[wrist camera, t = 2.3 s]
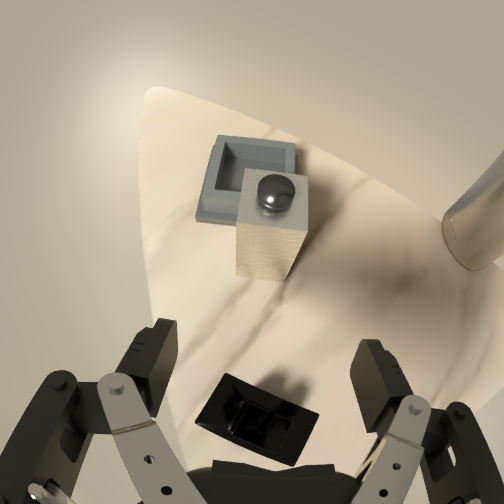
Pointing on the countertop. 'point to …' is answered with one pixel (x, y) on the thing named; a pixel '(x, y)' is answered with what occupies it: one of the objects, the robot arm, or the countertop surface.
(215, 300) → the countertop surface
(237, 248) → the knobbed grey block
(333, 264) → the countertop surface
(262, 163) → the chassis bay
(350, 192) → the countertop surface
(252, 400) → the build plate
